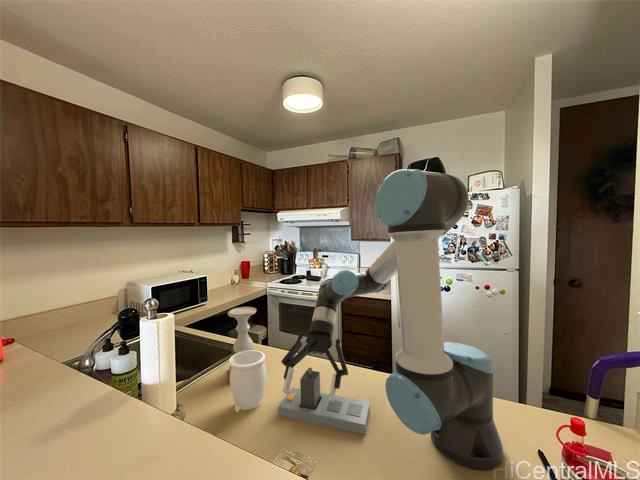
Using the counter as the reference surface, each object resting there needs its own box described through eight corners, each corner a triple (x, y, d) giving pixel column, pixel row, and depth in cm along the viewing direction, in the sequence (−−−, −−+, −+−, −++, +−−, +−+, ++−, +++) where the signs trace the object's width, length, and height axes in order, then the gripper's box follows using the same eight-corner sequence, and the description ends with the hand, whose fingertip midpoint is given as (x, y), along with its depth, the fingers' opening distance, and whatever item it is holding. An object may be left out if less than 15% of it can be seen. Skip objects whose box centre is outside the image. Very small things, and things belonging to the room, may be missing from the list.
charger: (320, 405, 75) (319, 365, 75) (314, 417, 70) (313, 374, 70) (307, 403, 76) (306, 363, 76) (301, 414, 71) (300, 372, 71)
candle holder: (259, 364, 103) (257, 305, 102) (260, 379, 92) (257, 313, 91) (230, 368, 100) (227, 307, 99) (227, 384, 89) (225, 316, 89)
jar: (223, 413, 75) (221, 363, 74) (245, 392, 85) (243, 347, 84) (254, 422, 71) (252, 368, 71) (273, 399, 81) (272, 352, 80)
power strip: (370, 415, 72) (369, 399, 72) (365, 440, 64) (365, 422, 64) (292, 400, 80) (291, 386, 80) (278, 420, 71) (278, 404, 71)
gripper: (362, 332, 83) (354, 408, 70) (291, 325, 91) (272, 392, 77) (359, 322, 78) (350, 401, 64) (284, 315, 86) (262, 385, 72)
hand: (307, 397), depth 71 cm, fingers open, 13 cm apart
